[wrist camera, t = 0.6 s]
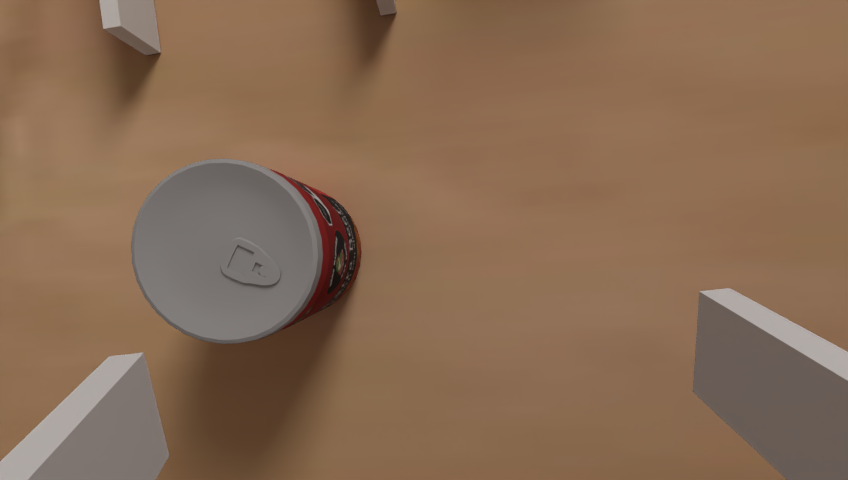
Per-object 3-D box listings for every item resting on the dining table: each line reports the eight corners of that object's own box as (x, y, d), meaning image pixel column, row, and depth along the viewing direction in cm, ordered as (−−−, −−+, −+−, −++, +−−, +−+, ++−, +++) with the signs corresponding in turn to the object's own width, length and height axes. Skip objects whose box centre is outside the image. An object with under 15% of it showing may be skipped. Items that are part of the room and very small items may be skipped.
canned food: (353, 322, 32) (303, 361, 21) (227, 300, 32) (113, 327, 21) (374, 198, 32) (334, 173, 21) (247, 178, 32) (143, 143, 22)
